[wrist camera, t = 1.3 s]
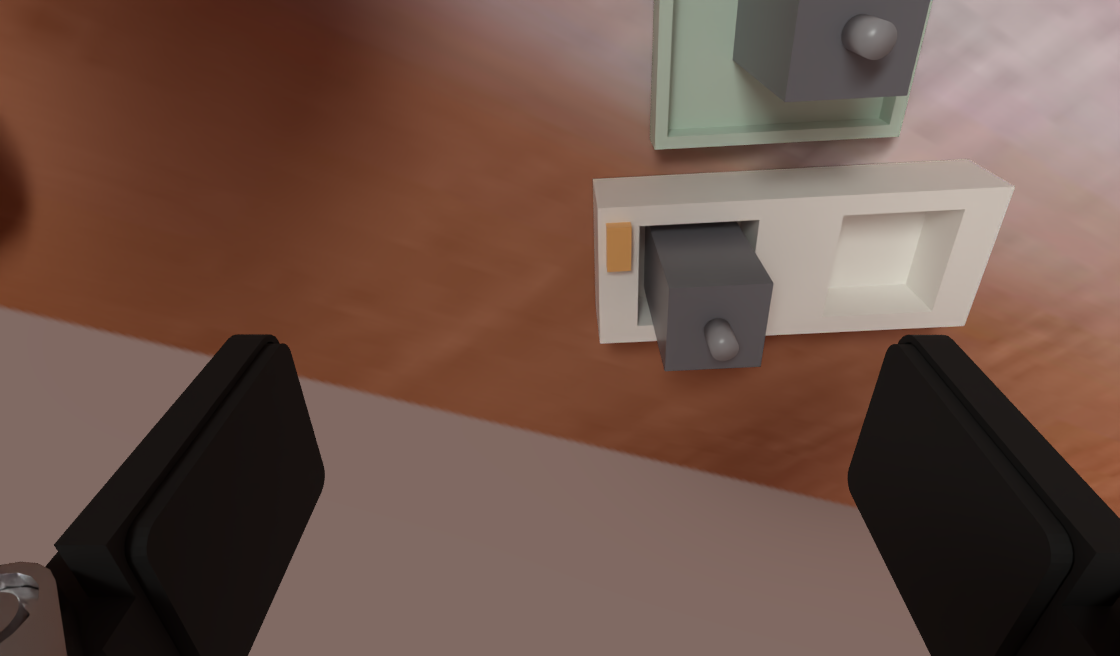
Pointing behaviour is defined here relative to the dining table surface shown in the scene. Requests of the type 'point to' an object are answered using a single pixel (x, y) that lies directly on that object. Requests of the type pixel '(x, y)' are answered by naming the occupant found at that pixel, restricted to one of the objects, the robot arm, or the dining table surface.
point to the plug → (830, 46)
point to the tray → (741, 90)
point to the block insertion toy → (789, 254)
